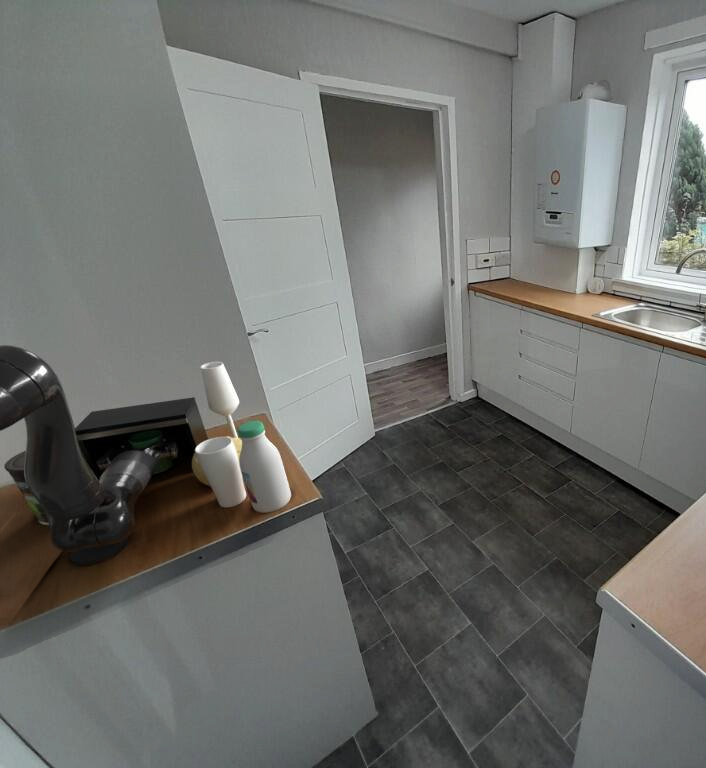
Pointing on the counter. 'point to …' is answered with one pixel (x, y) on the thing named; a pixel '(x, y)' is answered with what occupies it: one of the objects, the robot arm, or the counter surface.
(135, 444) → the pot
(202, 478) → the yellow ball
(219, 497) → the drinking glass
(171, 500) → the counter surface
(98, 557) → the dark round coaster
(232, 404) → the champagne flute
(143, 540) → the counter surface
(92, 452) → the cubby
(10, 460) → the coffee can
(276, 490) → the milk bottle
